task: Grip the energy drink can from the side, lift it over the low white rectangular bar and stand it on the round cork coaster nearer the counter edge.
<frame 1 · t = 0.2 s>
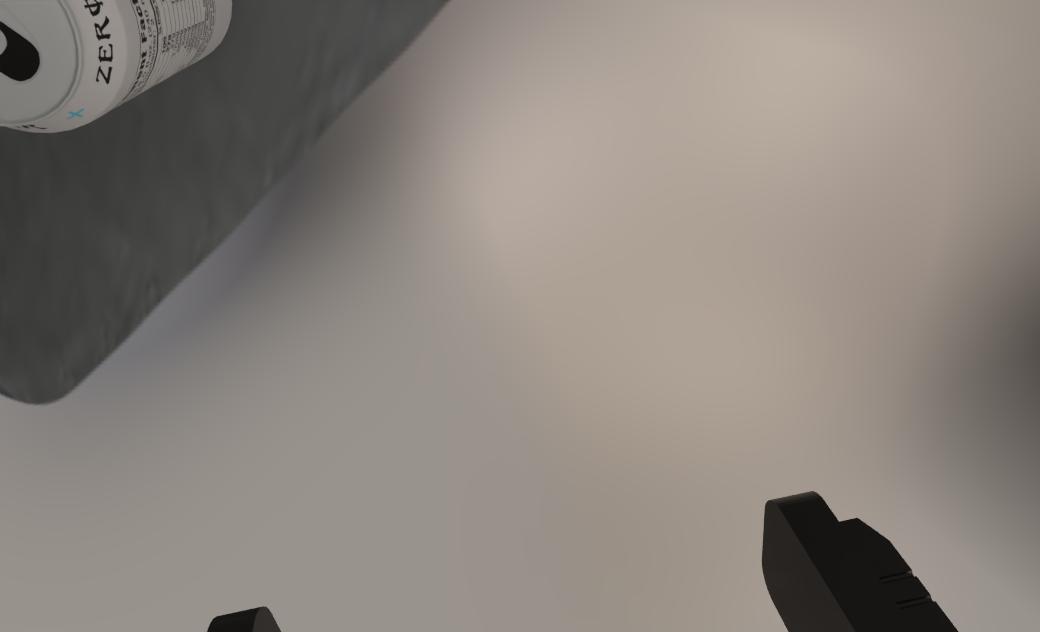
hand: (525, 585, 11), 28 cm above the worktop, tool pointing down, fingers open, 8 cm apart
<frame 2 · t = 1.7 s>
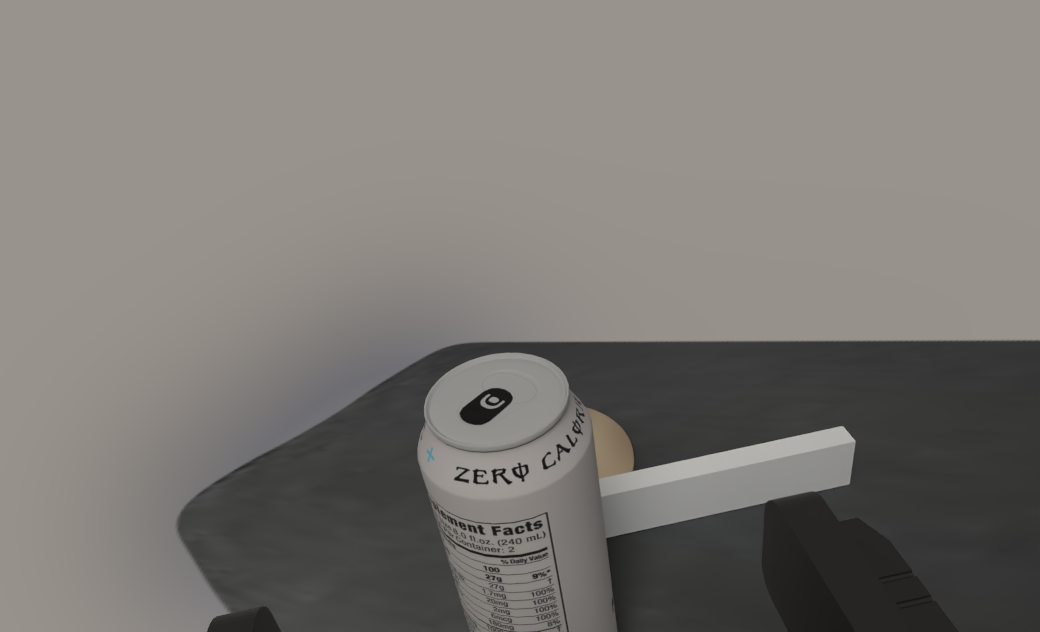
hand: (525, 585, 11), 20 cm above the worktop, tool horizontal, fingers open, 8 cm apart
cork coaster: (547, 464, 41), on the worktop
white rectangular bar: (650, 518, 37), on the worktop
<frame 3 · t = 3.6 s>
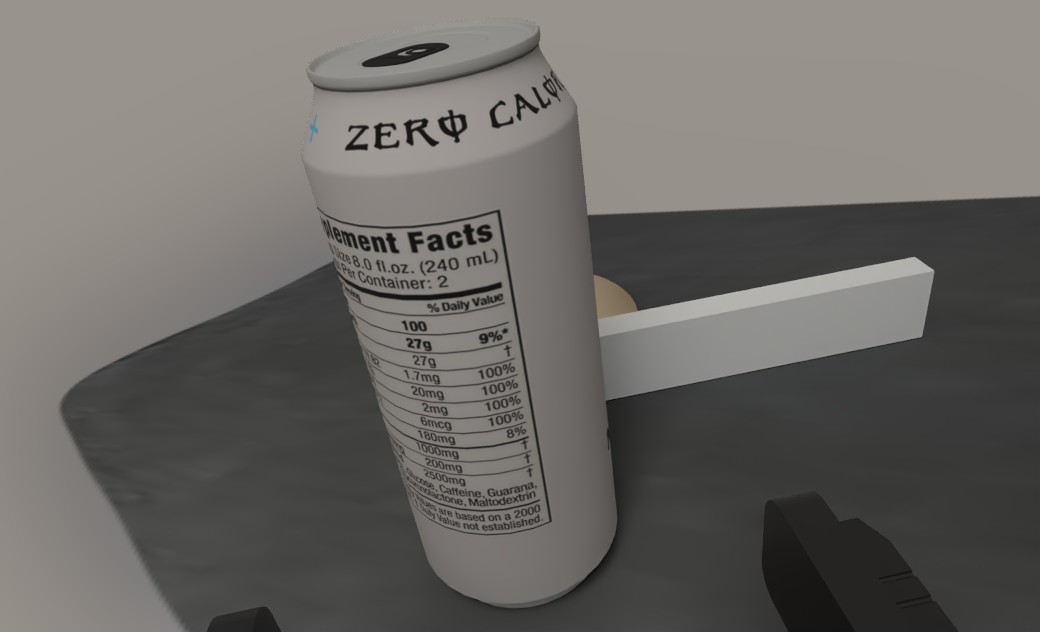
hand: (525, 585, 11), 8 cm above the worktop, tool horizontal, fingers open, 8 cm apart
energy drink can: (524, 544, 22), on the worktop
cork coaster: (529, 329, 33), on the worktop
white rectangular bar: (660, 379, 28), on the worktop
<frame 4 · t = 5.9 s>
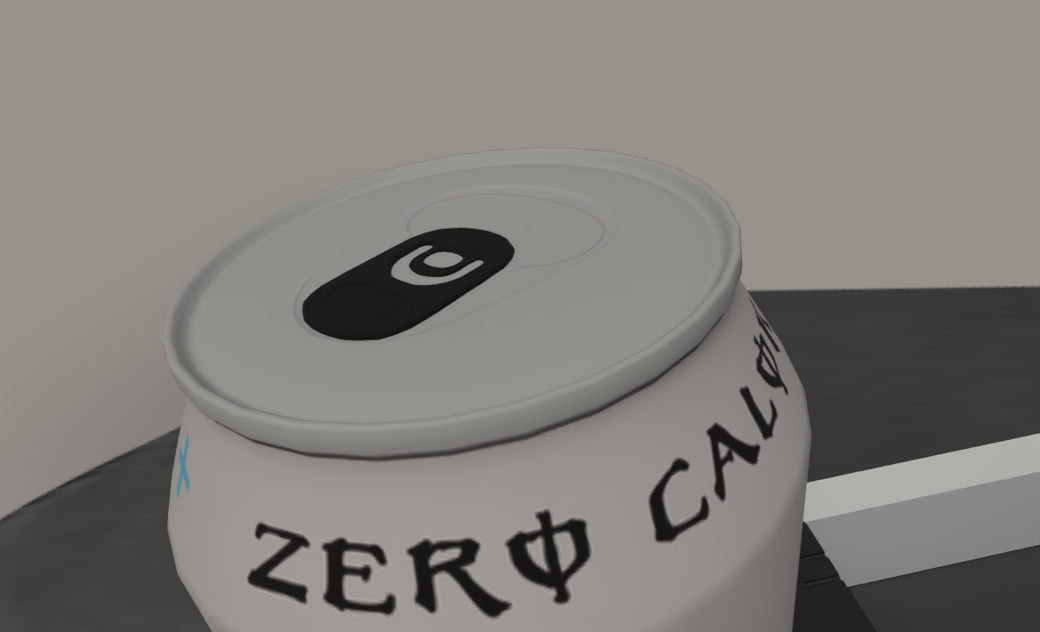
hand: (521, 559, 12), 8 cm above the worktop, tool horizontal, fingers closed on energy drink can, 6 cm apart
white rectangular bar: (768, 583, 20), on the worktop
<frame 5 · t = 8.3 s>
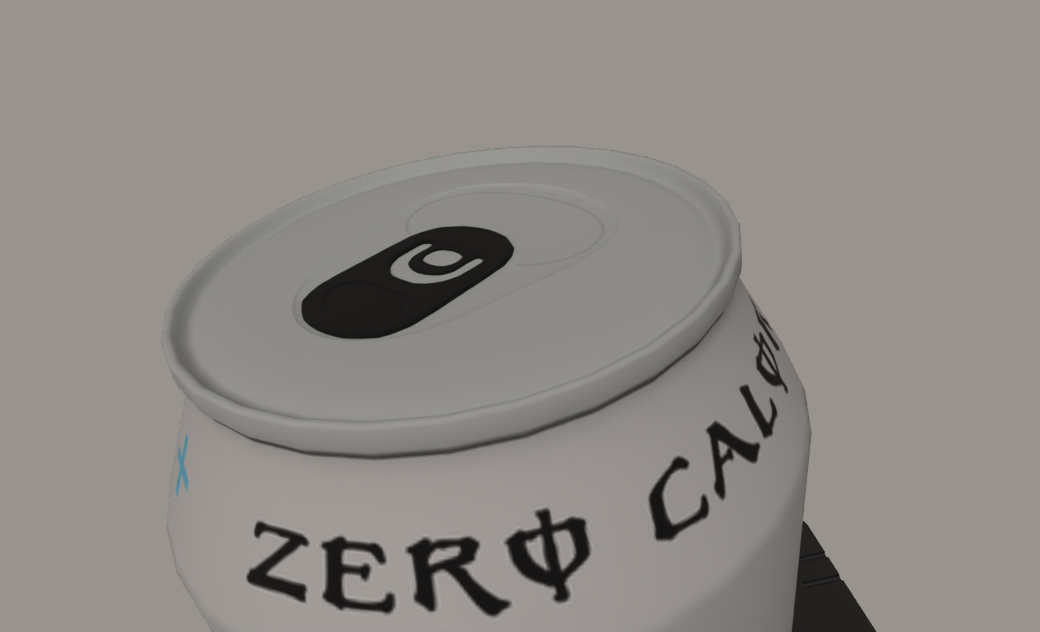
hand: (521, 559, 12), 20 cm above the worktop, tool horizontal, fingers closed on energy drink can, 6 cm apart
when the fingers open (9 cm above the worktop, at t = 10.7 s): energy drink can stays where it is, resting on cork coaster.
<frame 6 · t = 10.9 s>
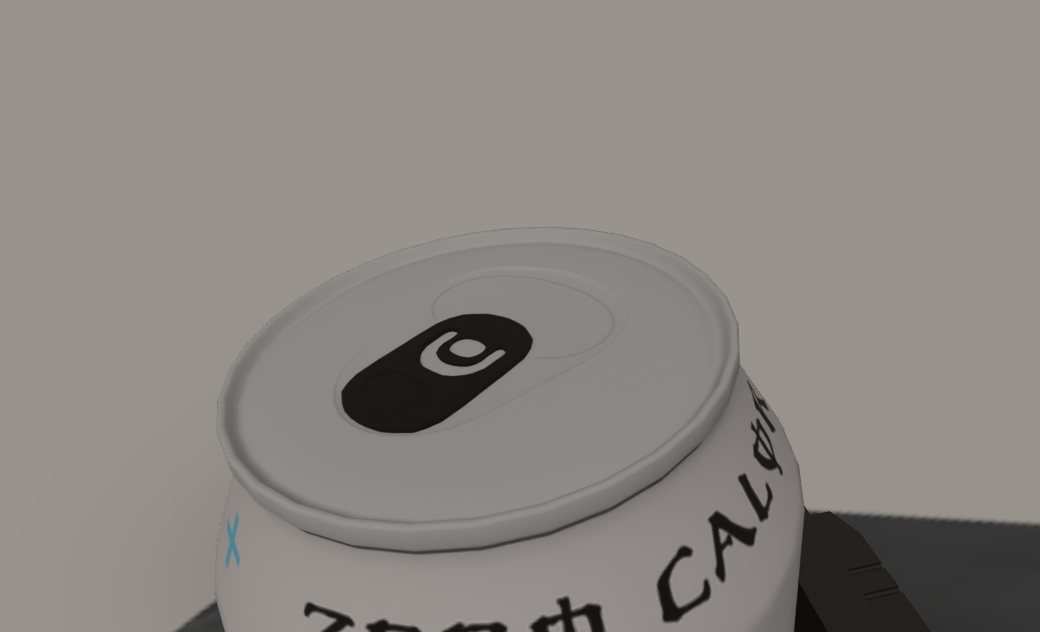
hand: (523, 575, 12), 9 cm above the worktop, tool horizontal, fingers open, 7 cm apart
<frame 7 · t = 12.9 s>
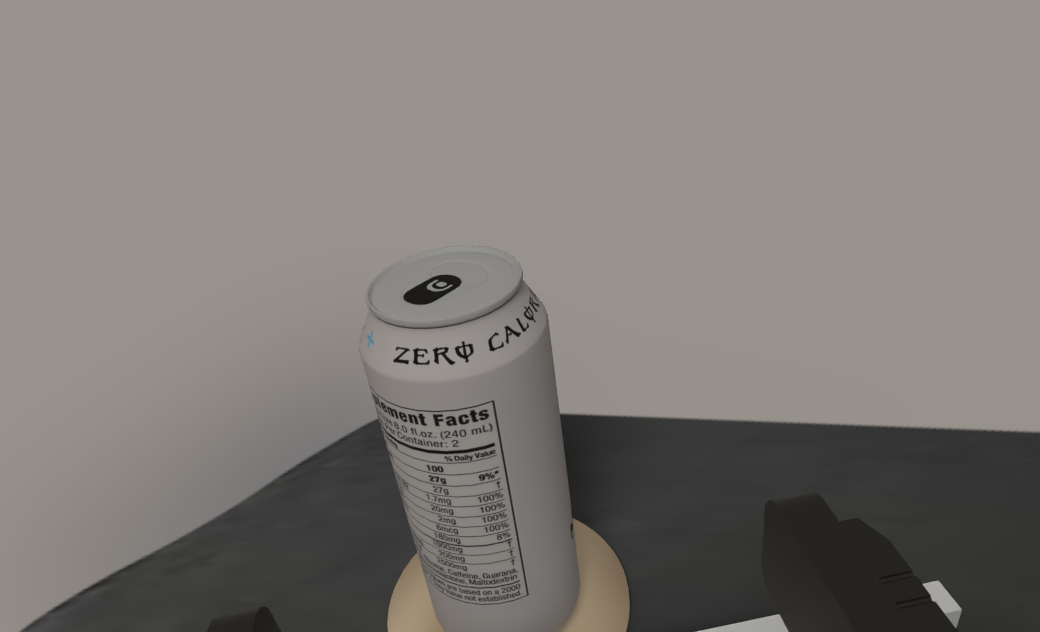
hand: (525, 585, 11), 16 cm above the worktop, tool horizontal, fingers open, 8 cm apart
energy drink can: (509, 603, 29), resting on cork coaster
cork coaster: (508, 604, 29), on the worktop
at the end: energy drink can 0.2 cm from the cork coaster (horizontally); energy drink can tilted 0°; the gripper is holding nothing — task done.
